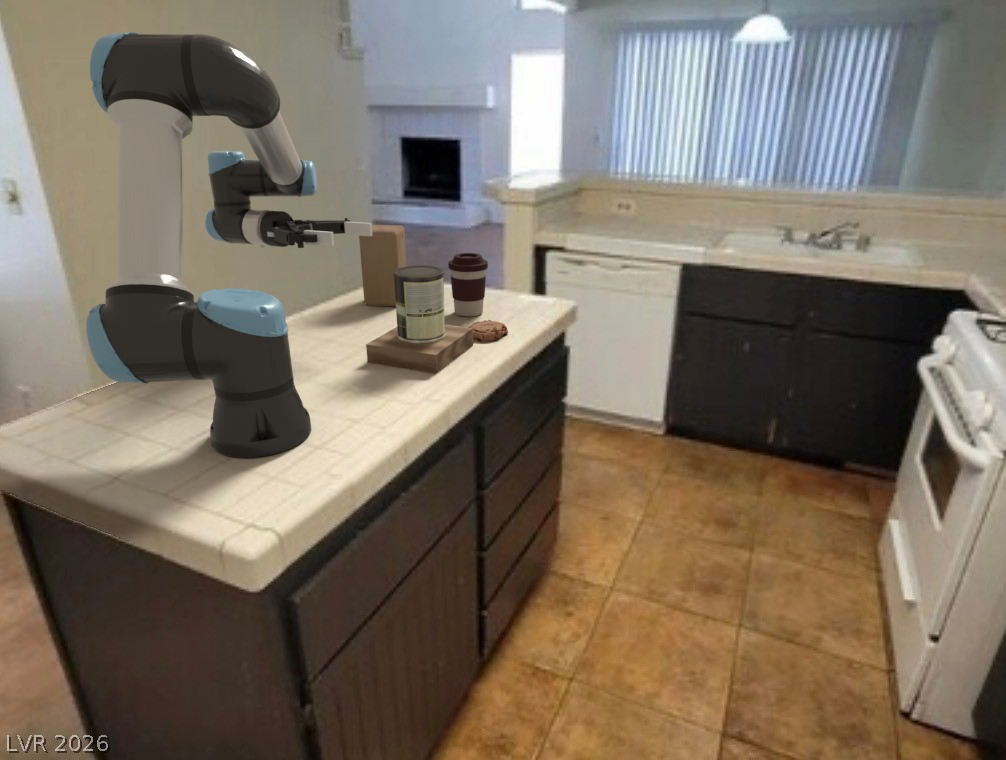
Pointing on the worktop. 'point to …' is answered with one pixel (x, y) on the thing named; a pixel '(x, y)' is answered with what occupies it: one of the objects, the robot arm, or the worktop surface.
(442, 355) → the walnut base block
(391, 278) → the wooden block
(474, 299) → the coffee cup
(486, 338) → the cookie
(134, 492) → the worktop surface
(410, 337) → the coffee can
